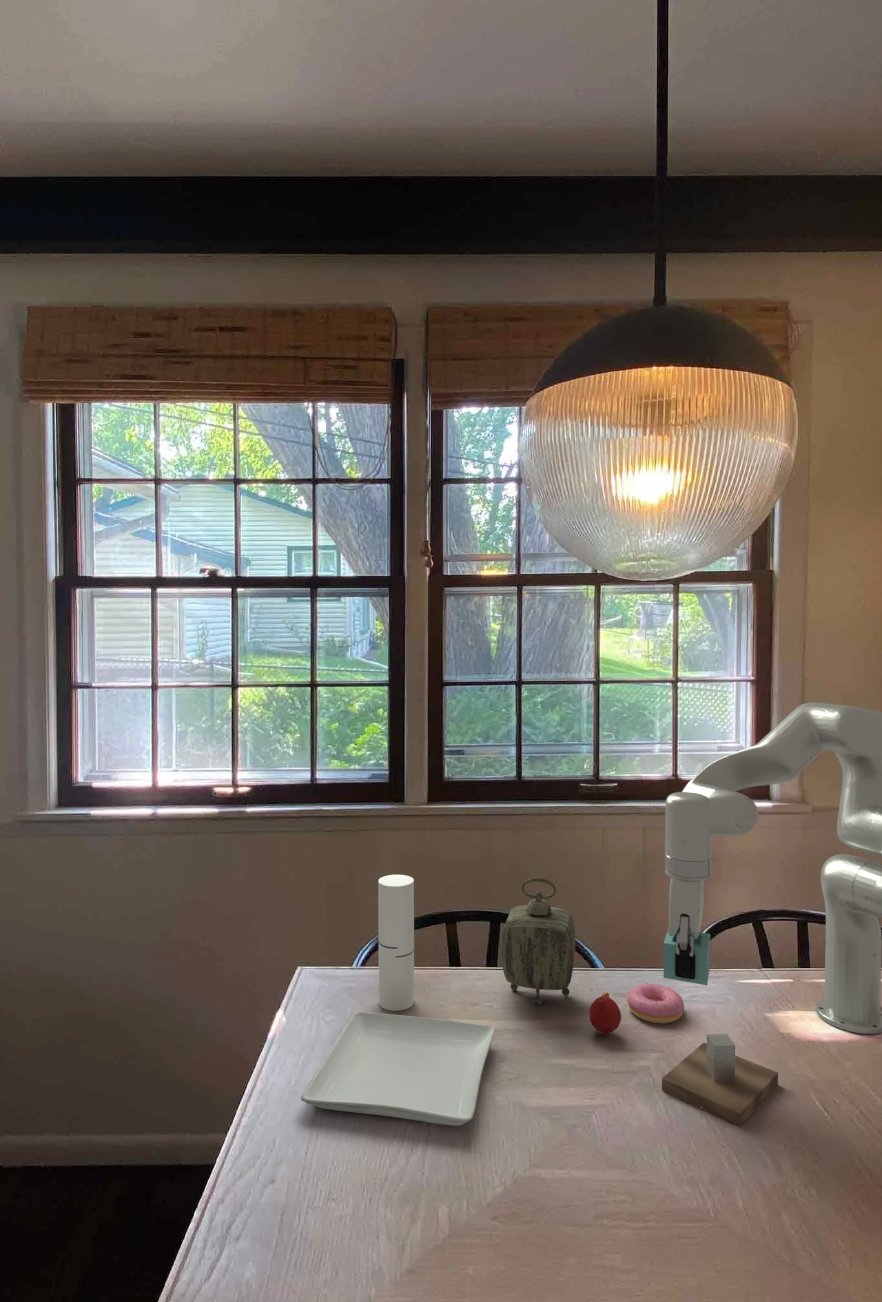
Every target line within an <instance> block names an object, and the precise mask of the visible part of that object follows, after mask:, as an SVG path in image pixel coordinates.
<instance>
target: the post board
mask: <svg viewBox="0 0 882 1302" xmlns="http://www.w3.org/2000/svg"><path fill="white" fill-rule="evenodd" d="M778 1085H779V1072H777V1071H775V1070H772V1069H770V1068H767V1067H765V1066H763V1065H760V1064H758V1063H755V1062H753V1061H751V1060H748V1059H745V1058H742V1057H741V1056H739V1055H736V1045H735V1043H734V1041H732V1039H731V1038H730V1035H728V1034H727V1033H726V1034H724V1033H721V1034H720V1033H718V1034H717V1033H711V1034H710V1033H709V1034H706V1042H702V1043H701V1044H700V1045H699V1046H697V1047H696V1048H695V1049H694V1050H693V1051H692V1052H690V1053H689V1054H688V1055H687V1056H686V1057H685V1058H684V1059H683V1060H681V1061H680V1062H679V1063H678V1064H676V1065H675V1067H673V1068H672V1069H671V1070H670V1071H668V1073H666V1074H665V1075H664V1076H663V1077H662V1078H661V1091H662V1092H665V1093H667V1094H669V1095H672V1096H673V1097H675V1096H676V1097H675V1098H678V1099H680V1100H682V1101H684V1100H685V1102H686V1101H687V1102H686V1103H688V1102H690V1103H692V1104H691V1105H693V1104H694V1105H693V1106H695V1105H696V1106H695V1107H697V1106H698V1107H697V1108H699V1107H702V1108H703V1109H705V1110H706V1112H707V1111H708V1112H707V1113H710V1114H712V1115H715V1116H717V1117H718V1118H721V1119H723V1120H725V1121H727V1122H729V1123H731V1124H733V1125H736V1126H738V1127H741V1126H742V1125H743V1124H744V1123H745V1122H746V1121H747V1119H749V1117H750V1116H751V1115H752V1114H753V1113H754V1112H755V1111H756V1110H757V1108H758V1107H760V1105H761V1104H762V1102H764V1101H765V1100H766V1099H767V1097H768V1096H769V1095H770V1094H772V1092H773V1090H775V1089H776V1087H778ZM690 1103H689V1104H690ZM703 1109H702V1110H703ZM705 1110H704V1111H705Z"/></svg>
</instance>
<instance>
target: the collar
mask: <svg viewBox="0 0 882 1302" xmlns="http://www.w3.org/2000/svg"><path fill="white" fill-rule="evenodd" d="M688 936H692V933H688ZM690 941H691V940H688V944H689V945H690ZM676 944H677V932H676V934H675V935H672V936H670V935H669V934H668V930H667V932H666V935H665V938H664V941H663V978H664V979H668V980H675V981H680V982H686V983H691V984H692V983H693V984H698V985H703V986H708V982H709V977H710V976H709V974H710V969H711V934H710V933H707V932H706V933H705V932H701V931H700V932H699V936H698V938H697V939H695V940H694V955H695V979H687V978H681V977H677V976H675V952H676Z"/></svg>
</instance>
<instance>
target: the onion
mask: <svg viewBox="0 0 882 1302" xmlns="http://www.w3.org/2000/svg"><path fill="white" fill-rule="evenodd" d="M588 1015H589V1022H590V1024H591V1026H592V1027H593V1028H594V1029H595V1031H596V1032H598V1033H599V1034H601V1035H603V1036H608V1035H610V1034H611V1033H613V1032H614V1031H616V1030H617V1029H618V1027H619V1026H620V1024H621V1023H622V1022H621V1020H622V1013H621V1010H620V1008H619V1006H618V1004H617V1003H616V1001H614V1000H613V999H612V998H611V997H610V993H609V992H608V991H604V992H603V993H602V994H601V995H600V996H598V997H597V998H595V1000H593V1002H592V1003H591V1004H590V1007H589V1011H588Z"/></svg>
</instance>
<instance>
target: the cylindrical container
mask: <svg viewBox="0 0 882 1302" xmlns="http://www.w3.org/2000/svg"><path fill="white" fill-rule="evenodd" d="M414 880H415V879H414V878H413V877H412V876H409V875H406V874H405V875H404V874H389V875H385V876H382V877H380V878H379V879H378V1005H379V1006H380V1007H381V1008H382V1009H384V1010H387V1011H393V1012H396V1011H397V1012H398V1011H399V1012H400V1011H404V1010H407V1009H409V1008H411V1007H412V1006H413V1005H414V1002H415V906H414V905H415V904H414V902H415V900H414V899H415V892H414V891H415V890H414V889H415V881H414Z"/></svg>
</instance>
